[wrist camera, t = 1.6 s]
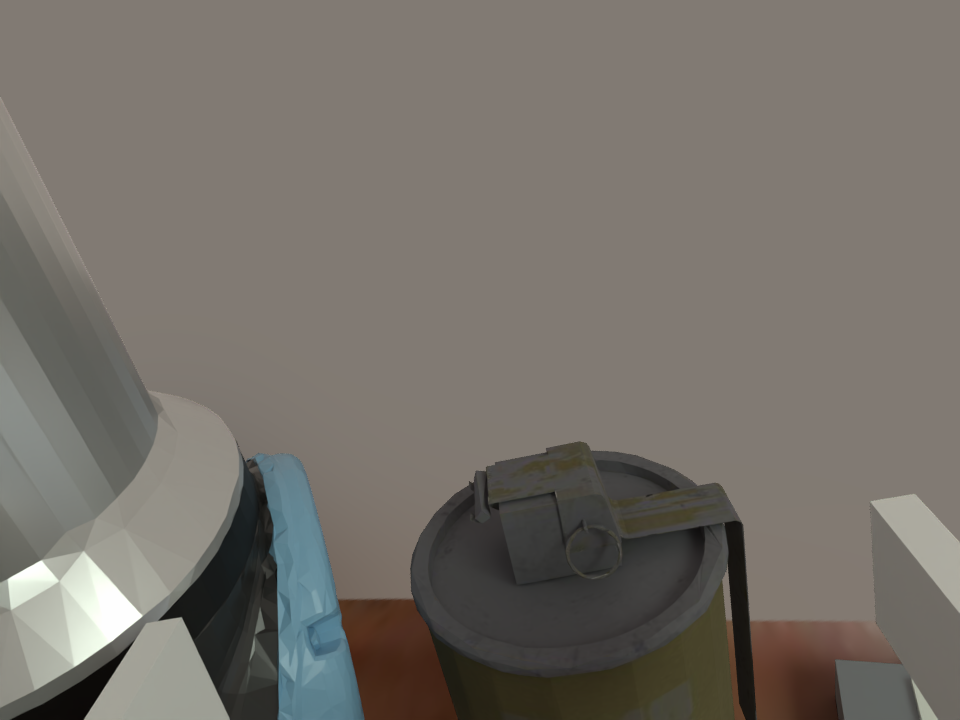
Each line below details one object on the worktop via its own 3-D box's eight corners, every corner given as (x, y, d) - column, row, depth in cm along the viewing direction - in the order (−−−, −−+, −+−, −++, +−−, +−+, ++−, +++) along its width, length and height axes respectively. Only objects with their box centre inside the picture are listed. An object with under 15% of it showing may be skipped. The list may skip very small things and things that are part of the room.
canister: (515, 1019, 28) (373, 625, 19) (499, 763, 37) (399, 421, 29) (809, 975, 27) (796, 547, 19) (717, 726, 37) (681, 365, 28)
